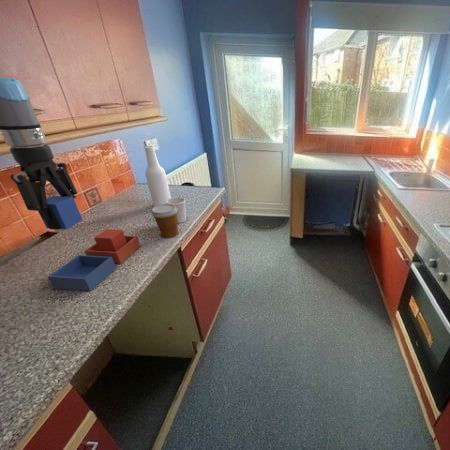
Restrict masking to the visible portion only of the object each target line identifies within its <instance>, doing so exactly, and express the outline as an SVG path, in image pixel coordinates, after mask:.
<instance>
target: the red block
mask: <svg viewBox="0 0 450 450" xmlns="http://www.w3.org/2000/svg"><path fill="white" fill-rule="evenodd" d="M125 236H126V235H125V233H124V229H113V228H112V229H111V228H107V229H104V230H103V231H102V232H100V233H99V234H97V235H95V236H94V237H93V239H94V241H95V244H97V246H98V249H99V251H110V252H117V251H118V250H119V249H120V248H122V247H123V246H124V245H125V244H127V241H126V238H125Z"/></svg>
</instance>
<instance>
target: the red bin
mask: <svg viewBox="0 0 450 450" xmlns="http://www.w3.org/2000/svg"><path fill="white" fill-rule="evenodd" d="M125 238H126V241H127V244H125V245H124V246H123V247H122V248H120V249H119V250H118V251H117V252H110V251H99V249H98V246H97V244H96V243H94V244H92V245H90V246H89V247H88V248H87V249H85V250H84V253H85V255H89V256H106V257H112V258H113V261H114V264H122V263H123V262H124V261H126V260H127V259H128V258H129V257H130V256H131V255H133V253H135V252H136V251H137V250H138V249H139V248H140V247H141V244H140V241H139V238H138V235H125Z"/></svg>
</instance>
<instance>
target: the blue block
mask: <svg viewBox="0 0 450 450" xmlns="http://www.w3.org/2000/svg"><path fill="white" fill-rule="evenodd" d="M46 198H47V205H48V208H52V210H53V212H54V215H55V217H56V219H57V221H58V223H59V225H60V227H61V229H60V230H68V229H70V228H72V227H74V226H75V225H78V224H79V223H81V222H82V221H84V220H83V217H82V215H81V213H80V210H79V208H78V206H77V203H76V200H75V199H74V198H73V197H66V196H61V195H52V196H49V197H46ZM40 218H41V220H42V222H43V224H44V225H45V228H46V229H49V227H48V225H47V223H46V221H44V220H43V219H42V217H41V216H40Z"/></svg>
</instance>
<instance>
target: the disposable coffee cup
mask: <svg viewBox="0 0 450 450" xmlns="http://www.w3.org/2000/svg"><path fill="white" fill-rule="evenodd" d="M177 210H178V209H177V208H176V206H175V205H173V204H162V205H158V206H155V207H154V206H153V207H152V208H151V212H150V214H151V215H152V217H153V219H154V221H155V223H156V226H157V228H158V230H159V232H160V234H161V237H162V238H173V237H176V236H177V235H178V234H179V226H178V224H179V223H177Z"/></svg>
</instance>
